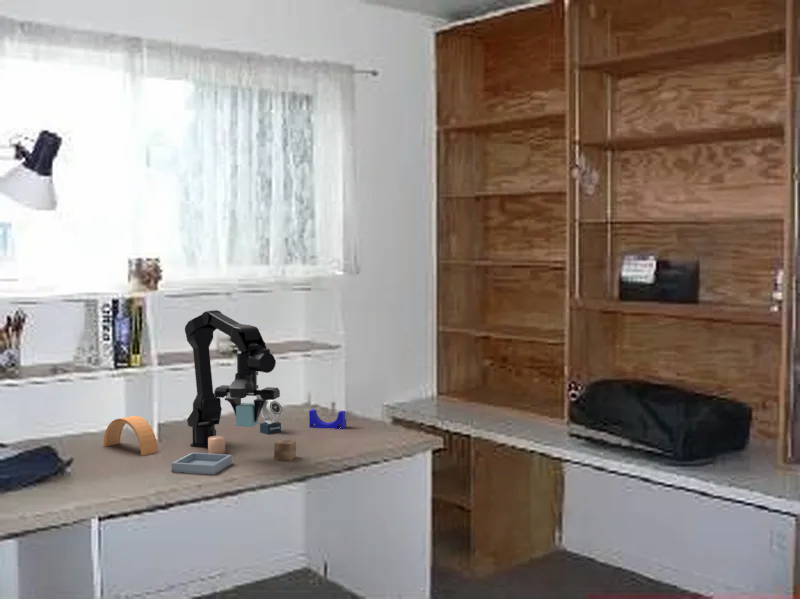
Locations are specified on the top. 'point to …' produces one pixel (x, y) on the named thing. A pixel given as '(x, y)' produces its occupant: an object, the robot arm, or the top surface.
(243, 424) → the teal block
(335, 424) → the cable clip
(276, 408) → the watch
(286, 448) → the walnut cube
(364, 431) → the top surface
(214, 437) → the terracotta cylinder
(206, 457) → the tray
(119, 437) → the arch
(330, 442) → the top surface
